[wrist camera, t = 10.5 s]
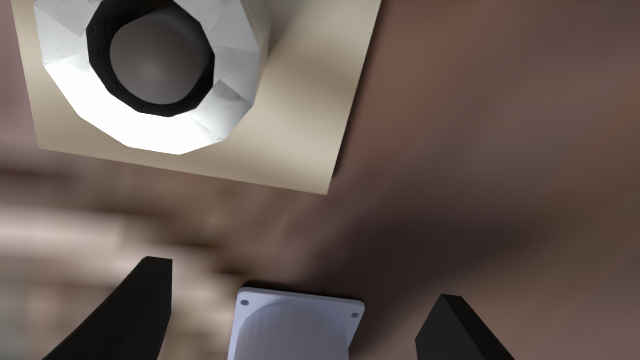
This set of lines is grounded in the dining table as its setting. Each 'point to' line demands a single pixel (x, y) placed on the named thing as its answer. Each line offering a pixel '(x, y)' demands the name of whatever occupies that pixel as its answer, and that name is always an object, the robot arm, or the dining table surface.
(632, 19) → the dining table surface
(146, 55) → the post stand
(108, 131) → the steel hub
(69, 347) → the robot arm
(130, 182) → the dining table surface
